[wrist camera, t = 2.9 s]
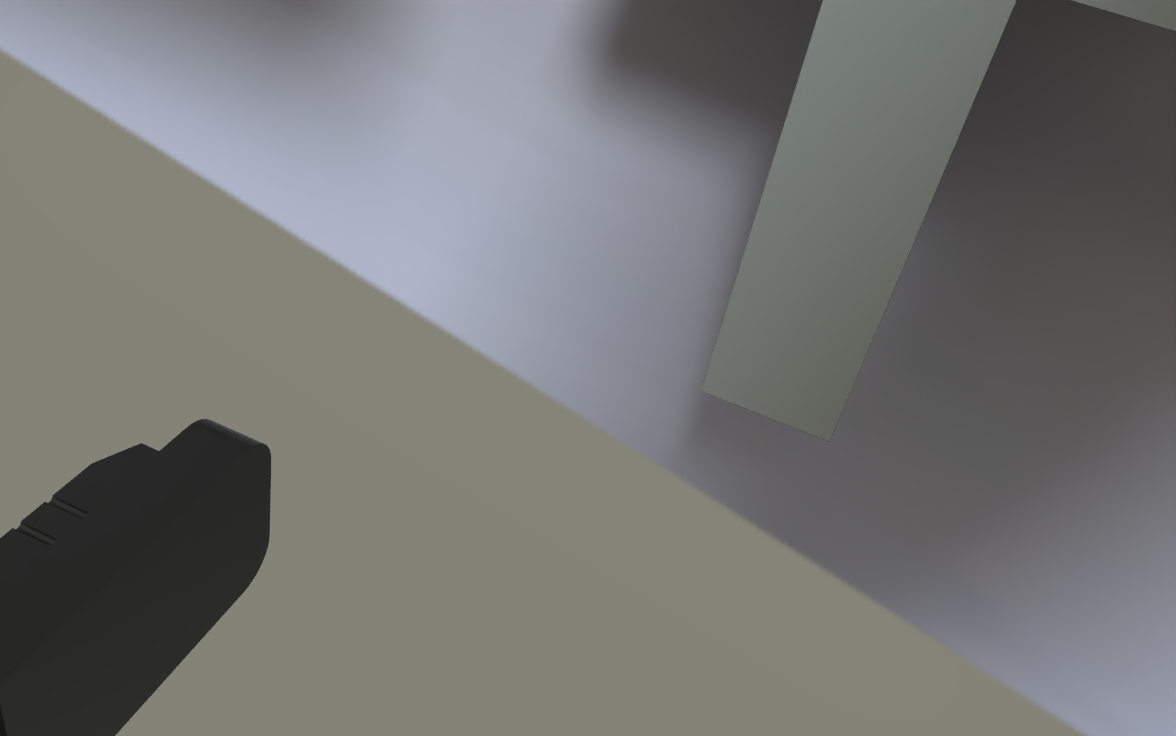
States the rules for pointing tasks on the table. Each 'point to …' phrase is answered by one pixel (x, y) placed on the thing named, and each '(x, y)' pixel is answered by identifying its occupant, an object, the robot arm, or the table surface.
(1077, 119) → the table surface
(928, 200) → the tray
